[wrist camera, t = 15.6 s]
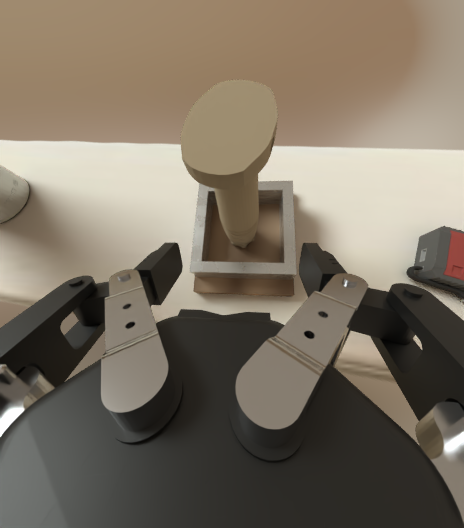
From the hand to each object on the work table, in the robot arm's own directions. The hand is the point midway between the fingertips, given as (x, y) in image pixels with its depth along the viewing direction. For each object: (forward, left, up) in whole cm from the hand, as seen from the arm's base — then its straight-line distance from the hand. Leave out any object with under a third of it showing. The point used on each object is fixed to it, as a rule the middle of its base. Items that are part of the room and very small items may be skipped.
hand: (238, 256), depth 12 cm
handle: (0, +6, -11) cm, 13 cm away
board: (0, +6, -12) cm, 14 cm away
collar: (0, +6, -11) cm, 13 cm away
